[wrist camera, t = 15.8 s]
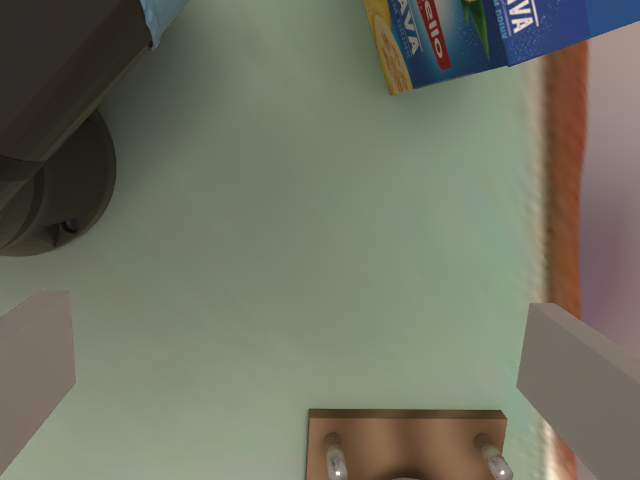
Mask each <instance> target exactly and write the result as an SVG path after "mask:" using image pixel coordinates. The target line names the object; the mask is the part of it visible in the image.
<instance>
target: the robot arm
mask: <svg viewBox="0 0 640 480" xmlns="http://www.w3.org/2000/svg"><path fill="white" fill-rule="evenodd" d="M188 2H189V0H0V256H31V255H37V254H41V253H45V252H49V251H52V250H55V249H57V248H59V247H61V246H64V245H65V244H67V243H69V242H71V241H73V240H74V239H76V238H78V237H80V236H81V235H82V234H84V233H85V232H86V231H88V230H89V229H90V228H91V227H92V226H93V225H94V224H95V223H96V222H97V221H98V219H99V218H100V217H101V215H102V214H103V212H104V211H105V209H106V207H107V205H108V203H109V201H110V198H111V196H112V193H113V189H114V185H115V178H116V158H115V152H114V147H113V143H112V140H111V136H110V134H109V131H108V129H107V127H106V125H105V123H104V121H103V119H102V117H101V116H100V114H99V112H98V111H97V109H96V107H97V106H98V105H99V104H100V103H101V102H102V101H103V100H104V99H105V97H106V96H107V95H108V94H109V93H110V92H111V91H112V90H113V89H114V88H115V86H116V85H117V84H118V83H119V82H120V81H121V80H122V79H123V78H124V76H125V75H126V74H127V73H128V72H129V71H130V70H131V69H132V68H133V67H134V65H135V64H136V63H137V62H138V61H139V60H140V59H141V58H142V57H143V55H144V54H145V53H146V52H147V51H148V50H150V51H154V50H155V49H156V48H157V47H158V45H159V43H160V38H161V35H162V33H163V32H164V31H165V30H166V29H167V27H168V26H169V25H170V24H171V22H172V21H173V20H174V19H175V18H176V16H177V15H178V14H179V13H180V12H181V10H182V9H183V8H184V7H185V5H186V4H187V3H188ZM75 383H76V379H75V364H74V350H73V335H72V321H71V306H70V292H69V291H42V290H40V291H39V292H37V293H36V294H34V295H33V296H31V297H30V298H29V299H27V300H26V301H24V302H23V303H21V304H20V305H18V306H17V307H16V308H14V309H13V310H11V311H10V312H8V313H7V314H5V315H4V316H2V317H1V318H0V476H1V475H2V474H3V472H4V471H5V470H6V469H7V467H8V466H9V465H10V464H11V462H12V461H13V460H14V459H15V457H16V456H17V455H18V454H19V452H20V451H21V450H22V449H23V447H24V446H25V445H26V444H27V442H28V441H29V440H30V439H31V437H32V436H33V435H34V434H35V432H36V431H37V430H38V429H39V427H40V426H41V425H42V424H43V422H44V421H45V420H46V419H47V417H48V416H49V415H50V414H51V412H52V411H53V410H54V409H55V407H56V406H57V405H58V404H59V402H60V401H61V400H62V399H63V397H64V396H65V395H66V394H67V392H68V391H69V390H70V389H71V388H72V386H73V385H74V384H75ZM516 387H517V388H518V389H519V391H520V392H521V393H522V394H523V395H524V396H525V397H526V398H527V400H528V401H529V402H530V403H531V404H532V405H533V406H534V408H535V409H536V410H537V411H538V412H539V413H540V414H541V416H542V417H543V418H544V419H545V420H546V421H547V422H548V424H549V425H550V426H551V427H552V428H553V429H554V430H555V431H556V433H557V434H558V435H559V436H560V437H561V438H562V439H563V441H564V442H565V443H566V444H567V445H568V446H569V447H570V449H571V450H572V451H573V452H574V453H575V454H576V455H577V457H578V458H579V459H580V460H581V461H582V462H583V463H584V464H585V466H586V467H587V468H588V469H589V470H590V471H591V472H592V473H593V475H594V476H595V477H596V478H597V479H598V480H640V360H638V359H637V358H635V357H634V356H633V355H631V354H630V353H628V352H627V351H625V350H624V349H622V348H620V347H619V346H618V345H616V344H615V343H613V342H612V341H610V340H609V339H607V338H606V337H604V336H603V335H601V334H599V333H598V332H596V331H595V330H594V329H592V328H591V327H589V326H588V325H586V324H585V323H583V322H582V321H580V320H579V319H577V318H576V317H574V316H573V315H571V314H570V313H568V312H567V311H565V310H564V309H562V308H561V307H559V306H558V305H556V304H555V303H530V305H529V311H528V317H527V324H526V330H525V336H524V342H523V348H522V355H521V361H520V367H519V373H518V379H517V386H516Z"/></svg>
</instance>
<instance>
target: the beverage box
mask: <svg viewBox="0 0 640 480" xmlns="http://www.w3.org/2000/svg"><path fill="white" fill-rule="evenodd" d="M363 4H364V7H365V10H366V14H367V17H368V20H369V24H370V27H371V31H372V34H373V37H374V41H375V44H376V48H377V51H378V54H379V58H380V61H381V64H382V68H383V71H384V75H385V78H386V81H387V85H388V88H389V91H390V95H393V94H397V93H401V92H405V91H409V90H413V89H417V88H421V87H425V86H429V85H432V84H436V83H440V82H444V81H448V80H452V79H456V78H460V77H464V76H468V75H472V74H476V73H479V72H483V71H487V70H491V69H495V68H499V67H503V66H508V67H511V66H514V65H516V64H519V63H522V62H525V61H528V60H530V59H533V58H536V57H539V56H542V55H544V54H547V53H550V52H553V51H556V50H558V49H561V48H564V47H567V46H570V45H572V44H575V43H578V42H581V41H584V40H586V39H589V38H592V37H595V36H598V35H600V34H603V33H606V32H609V31H611V30H614V29H617V28H620V27H623V26H626V25H628V24H631V23H634V22H636V21H640V0H363Z"/></svg>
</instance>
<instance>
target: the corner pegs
mask: <svg viewBox="0 0 640 480" xmlns="http://www.w3.org/2000/svg"><path fill="white" fill-rule="evenodd" d="M324 443H325V451H326V459H327V467H328V475H329V480H347V478H348V474H347V469H346V463H345V458H344V452H343V446H342V441H341V436H340V435H339V434H338V433H336V432H330V433H328V434H327V435H326V436H325V438H324ZM474 444H475V446H476V447H477V449H478V451H479V452H480V454H481V456H482V457H483V459H484V461H485V462H486V464H487V466H488V468H489V469H490V471H491V473H492V474H493V476H494V478H495V479H496V480H512V478H513V472H512V470H511V469H510V467H509V466H508V464H507V463H506V461H505V460H504V458H503V456H502V455H501V453H500V452H499V450H498V449H497V447H496V446H495V444H494V443H493V441H492V440H491V438H490V437H489V435H488V434H487V433H479V434H477V435H476V436H475V437H474Z"/></svg>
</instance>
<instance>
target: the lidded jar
mask: <svg viewBox="0 0 640 480" xmlns="http://www.w3.org/2000/svg"><path fill="white" fill-rule="evenodd" d="M391 480H419V479H412V478H407V477H400V478H395V479H391Z"/></svg>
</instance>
